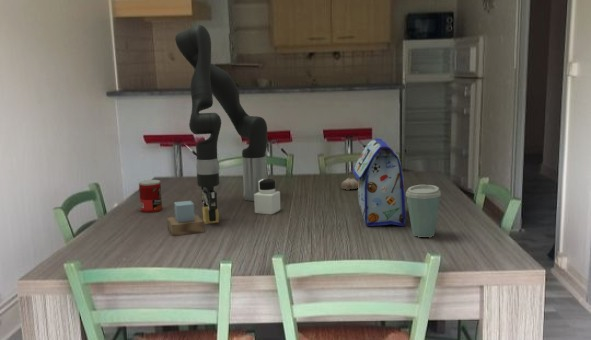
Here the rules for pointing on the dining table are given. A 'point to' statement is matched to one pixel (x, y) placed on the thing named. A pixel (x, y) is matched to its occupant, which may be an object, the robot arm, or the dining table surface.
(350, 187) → the garlic bulb
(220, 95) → the robot arm
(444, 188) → the dining table surface
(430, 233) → the disposable coffee cup
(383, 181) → the lunch bag
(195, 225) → the walnut base
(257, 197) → the medicine bottle
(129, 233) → the dining table surface
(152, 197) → the canned food
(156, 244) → the dining table surface
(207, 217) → the ochre block
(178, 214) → the slate cube
